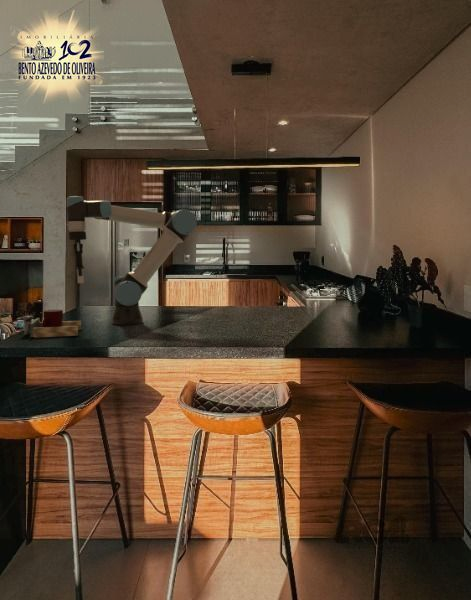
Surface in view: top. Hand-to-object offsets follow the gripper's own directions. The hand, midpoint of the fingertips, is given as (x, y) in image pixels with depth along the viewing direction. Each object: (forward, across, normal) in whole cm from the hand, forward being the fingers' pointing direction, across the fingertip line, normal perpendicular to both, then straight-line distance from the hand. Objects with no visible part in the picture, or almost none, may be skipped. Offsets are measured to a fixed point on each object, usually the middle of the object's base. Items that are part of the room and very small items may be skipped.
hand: (80, 282), depth 226 cm
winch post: (+21, +6, -23) cm, 32 cm away
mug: (+22, +6, -14) cm, 26 cm away
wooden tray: (+21, +7, -11) cm, 25 cm away
